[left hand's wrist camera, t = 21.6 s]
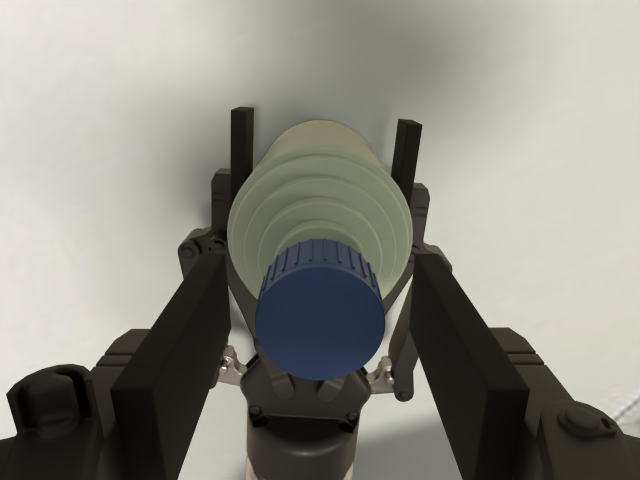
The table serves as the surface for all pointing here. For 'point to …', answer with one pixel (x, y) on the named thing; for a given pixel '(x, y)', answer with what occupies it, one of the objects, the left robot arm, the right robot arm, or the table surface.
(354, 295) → the cap
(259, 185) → the bottle
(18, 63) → the table surface
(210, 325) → the left robot arm
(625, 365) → the table surface
